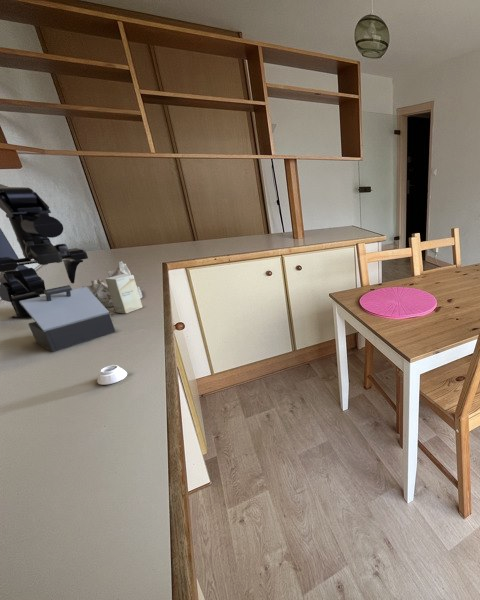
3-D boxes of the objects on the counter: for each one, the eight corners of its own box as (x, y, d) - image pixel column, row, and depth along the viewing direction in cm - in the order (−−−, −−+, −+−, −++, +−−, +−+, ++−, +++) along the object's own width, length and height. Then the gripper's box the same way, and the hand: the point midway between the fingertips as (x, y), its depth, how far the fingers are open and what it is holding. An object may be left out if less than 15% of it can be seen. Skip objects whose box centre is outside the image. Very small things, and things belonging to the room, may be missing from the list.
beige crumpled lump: (144, 289, 127) (131, 253, 121) (141, 303, 115) (125, 264, 109) (94, 298, 120) (77, 260, 113) (84, 314, 107) (64, 273, 101)
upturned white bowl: (129, 378, 72) (124, 370, 75) (126, 368, 71) (120, 360, 74) (101, 389, 68) (96, 380, 71) (96, 377, 67) (92, 369, 70)
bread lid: (19, 303, 82) (16, 290, 79) (86, 288, 93) (86, 277, 91) (43, 331, 80) (41, 320, 77) (109, 313, 91) (109, 302, 89)
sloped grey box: (36, 342, 86) (28, 323, 84) (98, 324, 98) (92, 307, 96) (52, 352, 82) (44, 332, 80) (115, 331, 93) (109, 314, 91)
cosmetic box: (125, 314, 105) (114, 279, 101) (115, 312, 106) (103, 278, 102) (143, 307, 111) (134, 274, 107) (133, 306, 112) (123, 273, 107)
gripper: (-11, 243, 77) (16, 302, 82) (87, 233, 92) (104, 283, 98) (-25, 238, 81) (1, 294, 87) (70, 229, 97) (87, 277, 102)
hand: (52, 287), depth 93 cm, fingers open, 9 cm apart
